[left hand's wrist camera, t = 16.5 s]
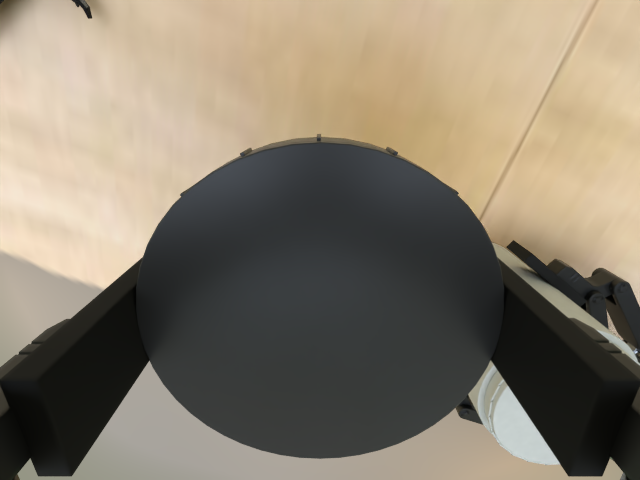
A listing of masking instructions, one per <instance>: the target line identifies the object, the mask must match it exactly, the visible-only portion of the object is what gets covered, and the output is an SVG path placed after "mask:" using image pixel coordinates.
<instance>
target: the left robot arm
mask: <svg viewBox="0 0 640 480" xmlns="http://www.w3.org/2000/svg"><path fill="white" fill-rule="evenodd" d="M497 258H498V257H497ZM142 259H143V257H142V258H141V259H140V260H139V261H138V262H137V263H135V264H134V265H133V266H132V267H131V268H130V269H128V270H127V271H126V272H125V273H124V274H123V275H121V276H120V277H119V278H118V279H117V280H116V281H114V282H113V283H112V284H111V285H110V286H109V287H107V288H106V289H105V290H104V291H103V292H102V293H100V294H99V295H98V296H97V297H96V298H95V299H93V300H92V301H91V302H90V303H89V304H88V305H86V306H85V307H84V308H83V309H82V310H80V311H79V312H78V313H77V314H76V315H75V316H73V317H72V318H71V319H66V320H64V321H62V322H60V323H58V324H56V325H54V326H52V327H50V328H48V329H47V330H45V331H44V332H43V333H42V334H41V335H39V336H38V337H37V338H36V339H34V340H33V341H32V343H31V344H28V345H27V346H26V347H25V348H23V349H22V350H21V351H20V352H19V354H18V355H15V356H14V357H12V358H11V359H10V360H9V361H8V362H6V363H5V364H4V365H3V366H1V367H0V480H20V479H19V477H18V475H17V473H18V472H19V471H20V470H21V469H22V467H23V466H24V465H25V464H26V463H27V461H28V460H29V459H30V458H31V460H32V463H33V465H34V468H35V470H36V472H37V475H38V476H72V475H73V474H74V472H75V471H76V469H77V468H78V466H79V465H80V463H81V462H82V460H83V459H84V457H85V456H86V454H87V453H88V451H89V450H90V448H91V447H92V445H93V444H94V442H95V441H96V439H97V438H98V436H99V435H100V433H101V432H102V430H103V429H104V427H105V426H106V424H107V423H108V421H109V420H110V418H111V417H112V415H113V414H114V412H115V411H116V409H117V408H118V406H119V405H120V403H121V402H122V400H123V399H124V397H125V396H126V395H127V393H128V391H129V390H130V389H131V387H132V386H133V384H134V383H135V381H136V379H137V378H138V377H139V375H140V374H141V372H142V371H143V369H144V368H145V366H146V365H147V363H148V362H149V358H148V356H147V354H146V351H145V349H144V346H143V343H142V339H141V335H140V331H139V326H138V321H137V314H136V286H137V280H138V275H139V269H140V265H141V262H142ZM498 261H499V264H500V267H501V273H502V279H503V285H504V315H503V321H502V326H501V331H500V335H499V339H498V343H497V346H496V350H495V352H494V354H493V356H492V358H491V361H492V363H493V364H494V366H495V367H496V369H497V370H498V372H499V373H500V375H501V376H502V378H503V379H504V381H505V382H506V384H507V385H508V387H509V388H510V390H511V391H512V393H513V394H514V396H515V397H516V399H517V400H518V402H519V403H520V405H521V406H522V408H523V409H524V411H525V412H526V414H527V415H528V417H529V418H530V420H531V421H532V423H533V424H534V426H535V427H536V428H537V430H538V431H539V433H540V434H541V436H542V437H543V439H544V440H545V442H546V443H547V445H548V446H549V448H550V449H551V451H552V452H553V454H554V455H555V457H556V458H557V460H558V461H559V463H560V464H561V466H562V467H563V469H564V470H565V472H566V473H567V475H568V476H602V475H603V473H604V471H605V468H606V466H607V464H608V461H609V459H610V457H611V458H612V459H613V460H614V461H615V463H616V464H617V465H618V466H619V467H620V469H621V470H622V471H623V474H622V477H621V479H620V480H640V365H639V364H637V363H636V362H635V361H634V360H632V359H631V358H630V357H629V356H628V355H626V354H623V353H622V351H621V350H620V349H619V348H618V347H616V346H615V345H614V344H613V343H609V340H608V339H607V338H605V337H604V336H603V335H602V334H600V333H599V332H598V331H597V330H596V329H594V328H593V327H591V326H589V325H587V324H585V323H583V322H581V321H579V320H577V319H575V318H568V317H567V316H566V315H564V314H563V313H562V312H561V311H560V310H559V309H557V308H556V307H555V306H554V305H553V304H552V303H550V302H549V301H548V300H547V299H546V298H545V297H543V296H542V295H541V294H540V293H539V292H538V291H536V290H535V289H534V288H533V287H532V286H531V285H529V284H528V283H527V282H526V281H525V280H523V279H522V278H521V277H520V276H519V275H518V274H516V273H515V272H514V271H513V270H512V269H511V268H509V267H508V266H507V265H506V264H505V263H504V262H502V261H501V260H500V259H499V258H498Z"/></svg>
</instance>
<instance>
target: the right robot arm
mask: <svg viewBox="0 0 640 480" xmlns="http://www.w3.org/2000/svg"><path fill="white" fill-rule="evenodd" d="M507 248H508V249H509V250H510V251H511V252H513V253H514V254H515V255H516V256H517V257H519V258H520V259H521V260H522V261H523V262H524V263H526V264H527V265H528V266H529V267H530V268H531V269H533V270H534V271H535V272H536V273H537V274H539V275H540V276H541V277H542V278H544V279H545V280H546V281H547V282H549V283H550V284H551V285H553V286H554V287H555V288H556V289H558V290H559V291H560V292H561V293H563V294H564V295H565V296H566V297H568V298H569V299H570V300H572V301H573V302H574V303H575V304H577V305H578V306H579V307H580V308H582V309H583V310H584V311H586V312H587V313H588V314H589V315H591V316H592V317H593V318H594V319H596V320H597V321H598V322H599V323H601V324H602V325H603V326H605V327H606V328H607V329H608V320H607V311H608V313H609V315H610V318H611V320H612V322H613V324H614V326H615V328H616V330H617V332H618V334H619V335H620V336H621V337H622V338H623V339H624V340H622V341H623V342H625V343H626V344H627V345H628V346H629V347H630V348H631V350H632V351H633V352H634V354H635V356H636V358H637V360H638V362H639V363H640V307H639V305H638V302H637V300H636V298H635V295H634V293H633V291H632V288H631V286H630V284H629V283H628V282H626V281H624V280H623V279H621V278H619V277H618V276H616V275H614V274H613V273H611V272H609V271H607V270H606V269H604V268H598V269H596V270H595V271H594V272H593V273H592V276H591V277H589V278H583V277H582V276H581V275H580V274H579V273H577V272H576V271H575V270H574V269H573V268H572V267H570V266H569V265H567V264H566V263H564V262H562V261H561V260H557V259H554V260H553V261H552V262H551V263H550V264H549V265H548V266H546V265H545V264H544V263H542V262H541V261H540V260H539V259H538V258H537V257H535V256H534V255H533V254H532V253H530V252H529V251H528V250H526V249H525V248H523V247H522V246H521V245H519V244H518V243H516V242H515V241H514V240H513V241H512V242H511V243H510V244H509V245H508V246H507ZM606 309H607V311H606ZM608 330H609V329H608ZM455 408H456V410H457V412H458V414H459V416H460V417H461V418H463V419H466V420H469V421H473V422H476V423H479V424H483V423H482V421H481V419H480V417H479V415H478V413H477V411H476V409H475V407H474V405H473V403H472V401H471V399H470V397H469V395H467V396H466V398H465V399H464V400H463V401H462V402H461V403H460V404H459V405H458V406H456V407H455ZM610 459H612V458H611V457H610ZM612 460H613V459H612ZM613 461H614V460H613Z"/></svg>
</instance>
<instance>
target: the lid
mask: <svg viewBox="0 0 640 480" xmlns="http://www.w3.org/2000/svg"><path fill="white" fill-rule="evenodd" d="M397 154H398V152H396V151H395V150H393V149H391V148H389V147H387V148H386V149H383V148H380V147H377V146H375V145H372V144H368V143H364V142H359V141H354V140H349V139H342V138H328V137H321V134H317V137H313V138H298V139H291V140H286V141H282V142H277V143H272V144H269V145H266V146H263V147H260V148H257V149H255V150H252V149H251V148H249V149H247V150H245V151H244V152H242V153H240V155H241V156H239V157H237V158H235V159H233V160H231V161H230V162H228V163H226V164H224V165H223V166H221V167H219V168H218V169H216V170H215V171H213V172H211V173H210V174H209V175H207V176H206V177H205V178H203V179H202V180H200V181H199V182H198V183H196V184H195V185H193V186H192V187H190V188H189V189H187V190H186V191H184V192H183V193H181V194H180V196H181V198H179V199H178V200H177V201H176V202H175V203H174V204H173V205H172V207H171V208H170V209H169V211H168V212H167V213H166V215H165V216H164V217H163V219H162V220H161V221H160V223H159V224H158V226H157V228H156V229H155V231H154V233H153V235H152V237H151V239H150V241H149V243H148V245H147V247H146V250H145V253H144V256H143V259H142V262H141V265H140V269H139V275H138V280H137V286H136V314H137V321H138V326H139V331H140V335H141V339H142V343H143V346H144V349H145V351H146V354H147V356H148V358H149V360H150V362H151V364H152V367H153V368H154V370H155V372H156V373H157V375H158V376H159V378H160V379H161V381H162V383H163V384H164V385H165V387H166V388H167V389H168V390H169V391H170V393H171V394H172V395H173V396H174V397H175V399H176V400H177V401H178V402H179V403H180V404H181V405H182V406H184V407H185V408H186V409H187V410H188V411H189V412H190V413H191V414H192V415H194V416H195V417H196V418H198V419H199V420H200V421H202V422H203V423H204V424H206V425H207V426H209V427H210V428H212V429H214V430H216V431H217V432H219V433H221V434H222V435H224V436H226V437H228V438H231V439H233V440H235V441H237V442H239V443H242V444H244V445H247V446H250V447H253V448H256V449H259V450H262V451H266V452H270V453H275V454H279V455H286V456H292V457H299V458H319V459H321V458H341V457H348V456H355V455H361V454H365V453H369V452H374V451H378V450H381V449H384V448H387V447H390V446H393V445H396V444H398V443H401V442H403V441H405V440H407V439H409V438H412V437H414V436H416V435H418V434H419V433H421V432H423V431H424V430H426V429H428V428H429V427H431V426H433V425H434V424H436V423H437V422H438V421H440V420H441V419H442V418H444V417H445V416H446V415H448V414H449V413H450V412H451V411H452V410H453V409H454V408H455V407H456V406H458V405H459V404H460V403H461V402H462V401H463V400H464V399H465V398H466V396H467V395H468V394H469V393H470V392H471V390H472V389H473V388H474V387H475V386H476V384H477V383H478V381H479V380H480V378H481V376H482V375H483V373H484V372H485V370H486V369H487V367H488V365H489V363H490V360H491V358H492V356H493V354H494V352H495V350H496V346H497V343H498V339H499V335H500V331H501V326H502V321H503V315H504V285H503V279H502V273H501V267H500V264H499V261H498V258H497V255H496V252H495V249H494V246H493V244H492V242H491V240H490V238H489V236H488V234H487V233H486V231H485V229H484V227H483V225H482V224H481V222H480V221H479V220H478V218H477V217H476V216H475V214H474V213H473V212H472V210H471V209H470V207H469V206H468V205H467V204H466V203H465V202H464V201H463V200H462V199H461V198H460V197H459V196H458V194H459V193H458V192H457V191H456V190H454V189H452V188H451V187H449V186H448V185H446V184H444V183H443V182H441V181H440V180H439V179H437V178H436V177H435V176H433V175H432V174H430V173H429V172H428V171H426V170H424V169H423V168H421V167H419V166H418V165H416V164H414V163H413V162H411V161H409V160H407V159H405V158H403V157H401V156H399V155H397Z"/></svg>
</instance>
